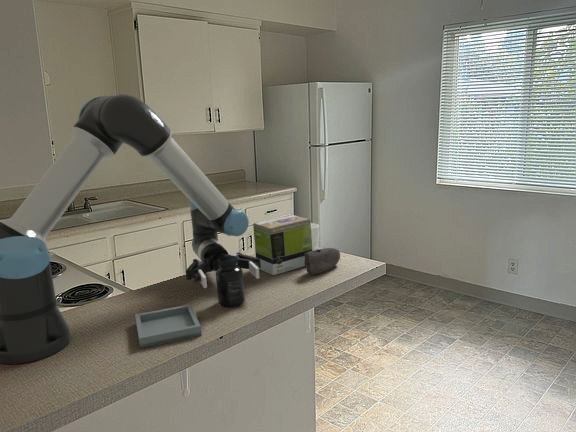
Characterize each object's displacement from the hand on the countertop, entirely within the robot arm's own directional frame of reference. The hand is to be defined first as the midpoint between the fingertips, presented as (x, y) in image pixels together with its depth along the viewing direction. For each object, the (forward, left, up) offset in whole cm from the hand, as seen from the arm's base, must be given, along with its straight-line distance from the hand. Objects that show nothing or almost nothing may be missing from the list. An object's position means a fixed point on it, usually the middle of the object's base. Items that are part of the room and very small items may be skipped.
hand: (232, 278), depth 119 cm
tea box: (+22, +21, -7) cm, 31 cm away
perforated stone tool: (+31, +12, -7) cm, 33 cm away
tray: (-17, -7, -7) cm, 20 cm away
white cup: (+33, +28, -7) cm, 43 cm away
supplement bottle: (0, +1, -7) cm, 7 cm away
